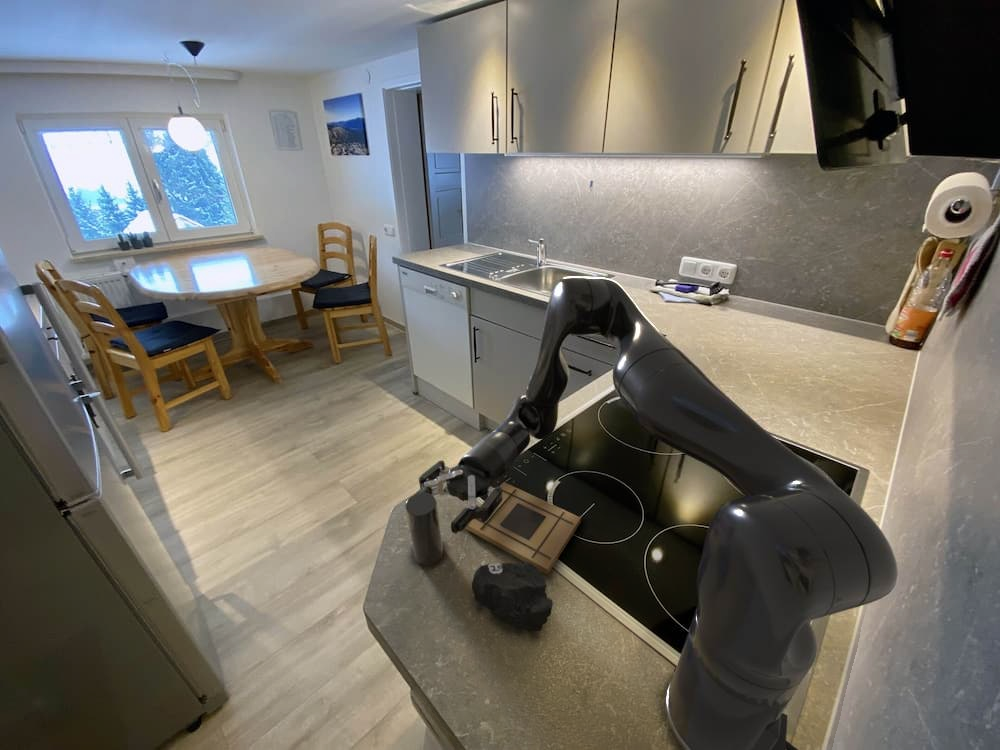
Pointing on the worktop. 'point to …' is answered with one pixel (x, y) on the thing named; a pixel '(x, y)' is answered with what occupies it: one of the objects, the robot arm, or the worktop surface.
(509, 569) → the mineral
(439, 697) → the worktop surface
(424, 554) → the tall black cylinder
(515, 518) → the board
